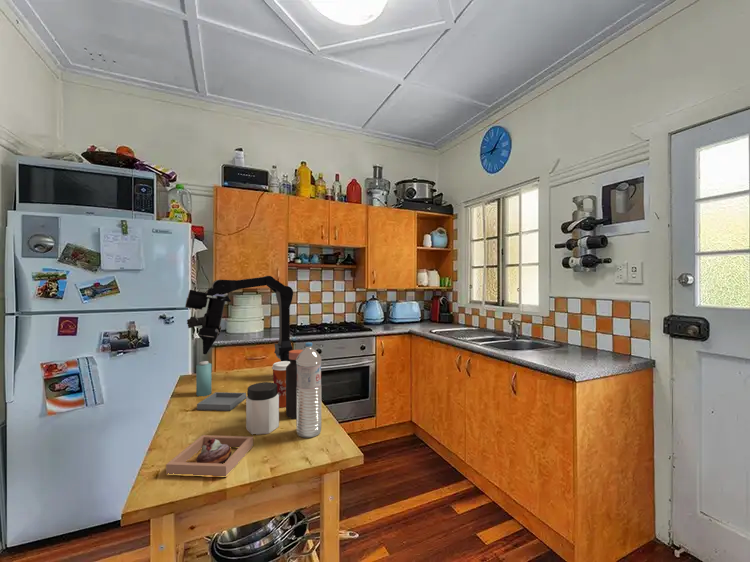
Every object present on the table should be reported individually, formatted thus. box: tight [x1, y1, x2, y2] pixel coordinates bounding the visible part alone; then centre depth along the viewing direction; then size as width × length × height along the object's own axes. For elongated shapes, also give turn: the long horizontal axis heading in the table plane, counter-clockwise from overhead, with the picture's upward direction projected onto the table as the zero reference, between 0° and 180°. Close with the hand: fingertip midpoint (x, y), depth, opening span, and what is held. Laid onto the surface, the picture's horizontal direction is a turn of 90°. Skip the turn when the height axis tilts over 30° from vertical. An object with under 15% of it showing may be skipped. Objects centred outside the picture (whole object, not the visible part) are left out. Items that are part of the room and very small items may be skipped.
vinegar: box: [285, 349, 304, 420], centre depth 104 cm, size 7×7×20 cm
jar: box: [245, 381, 280, 436], centre depth 95 cm, size 9×8×12 cm
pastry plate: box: [165, 434, 254, 476], centre depth 78 cm, size 13×13×2 cm
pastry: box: [195, 437, 232, 464], centre depth 78 cm, size 8×8×5 cm
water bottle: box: [295, 341, 322, 439], centre depth 92 cm, size 7×7×25 cm
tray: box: [196, 391, 247, 412], centre depth 113 cm, size 11×11×2 cm
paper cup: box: [271, 360, 290, 409], centre depth 113 cm, size 8×8×14 cm
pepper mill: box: [195, 360, 213, 397], centre depth 123 cm, size 5×5×12 cm
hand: (205, 352), depth 126 cm, fingers open, 9 cm apart
